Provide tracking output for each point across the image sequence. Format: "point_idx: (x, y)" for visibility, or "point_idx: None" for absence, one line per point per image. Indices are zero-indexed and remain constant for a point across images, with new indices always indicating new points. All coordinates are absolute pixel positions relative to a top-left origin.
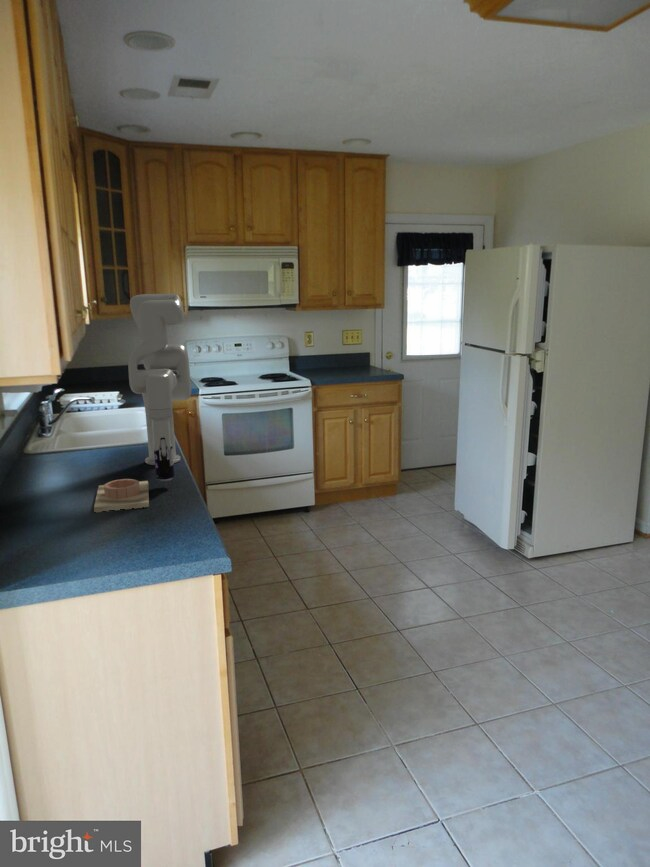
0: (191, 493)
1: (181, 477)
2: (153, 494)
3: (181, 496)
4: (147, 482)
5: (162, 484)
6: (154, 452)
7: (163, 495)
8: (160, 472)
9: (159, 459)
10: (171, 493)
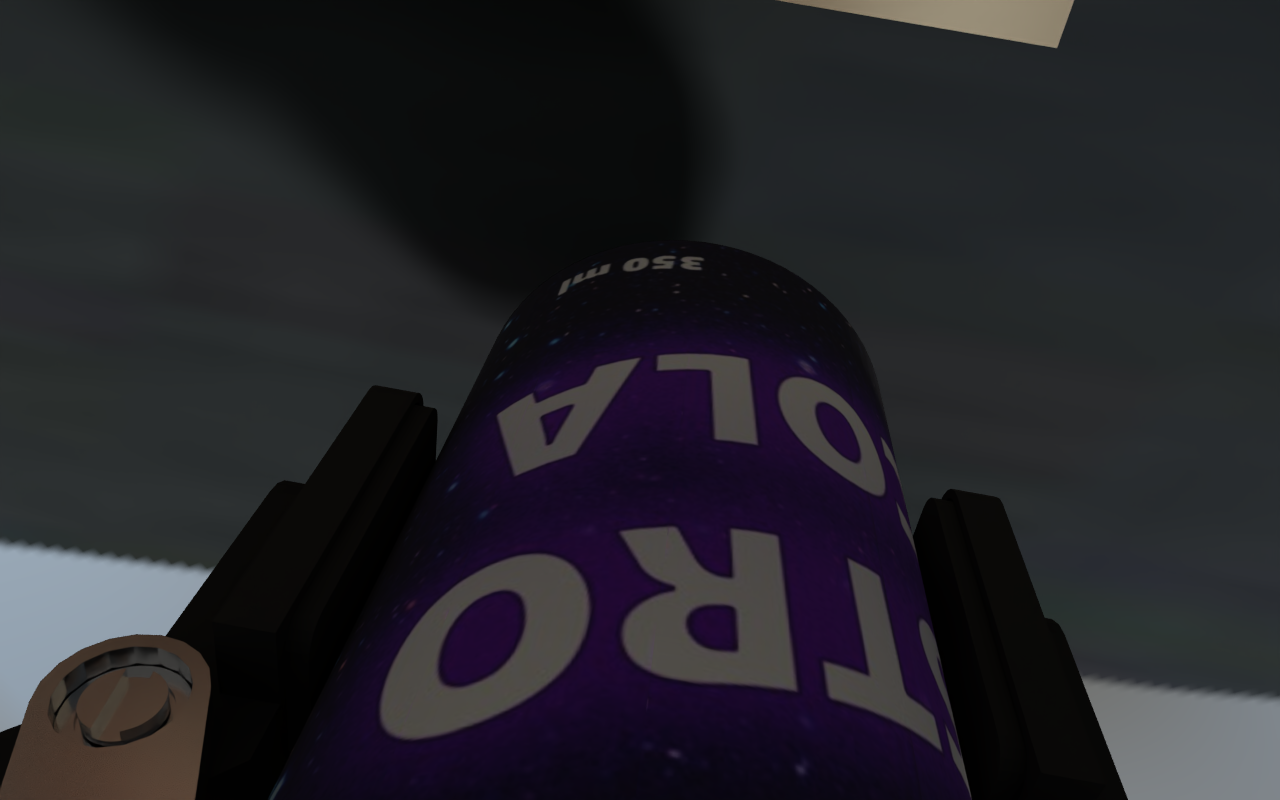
0: (198, 550)
1: (1101, 622)
2: (325, 10)
3: (84, 410)
4: (918, 10)
5: (901, 292)
6: (534, 793)
7: (207, 174)
8: (480, 387)
9: (347, 655)
10: (284, 316)
